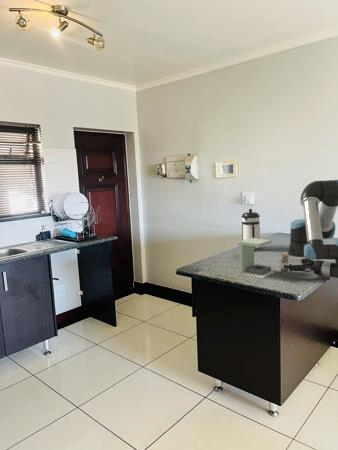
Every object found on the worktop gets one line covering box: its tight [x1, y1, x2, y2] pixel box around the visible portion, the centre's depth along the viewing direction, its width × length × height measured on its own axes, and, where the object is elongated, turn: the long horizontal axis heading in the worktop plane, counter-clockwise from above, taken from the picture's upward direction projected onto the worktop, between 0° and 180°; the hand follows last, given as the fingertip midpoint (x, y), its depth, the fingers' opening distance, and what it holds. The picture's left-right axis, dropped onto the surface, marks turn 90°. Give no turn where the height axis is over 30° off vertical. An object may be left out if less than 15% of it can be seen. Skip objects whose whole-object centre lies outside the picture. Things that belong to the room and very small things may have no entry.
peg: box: [280, 251, 289, 274], centre depth 194 cm, size 4×4×11 cm
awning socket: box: [238, 238, 276, 279], centre depth 194 cm, size 15×13×18 cm
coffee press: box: [241, 208, 262, 252], centre depth 251 cm, size 17×16×30 cm
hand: (284, 262), depth 193 cm, fingers open, 13 cm apart
